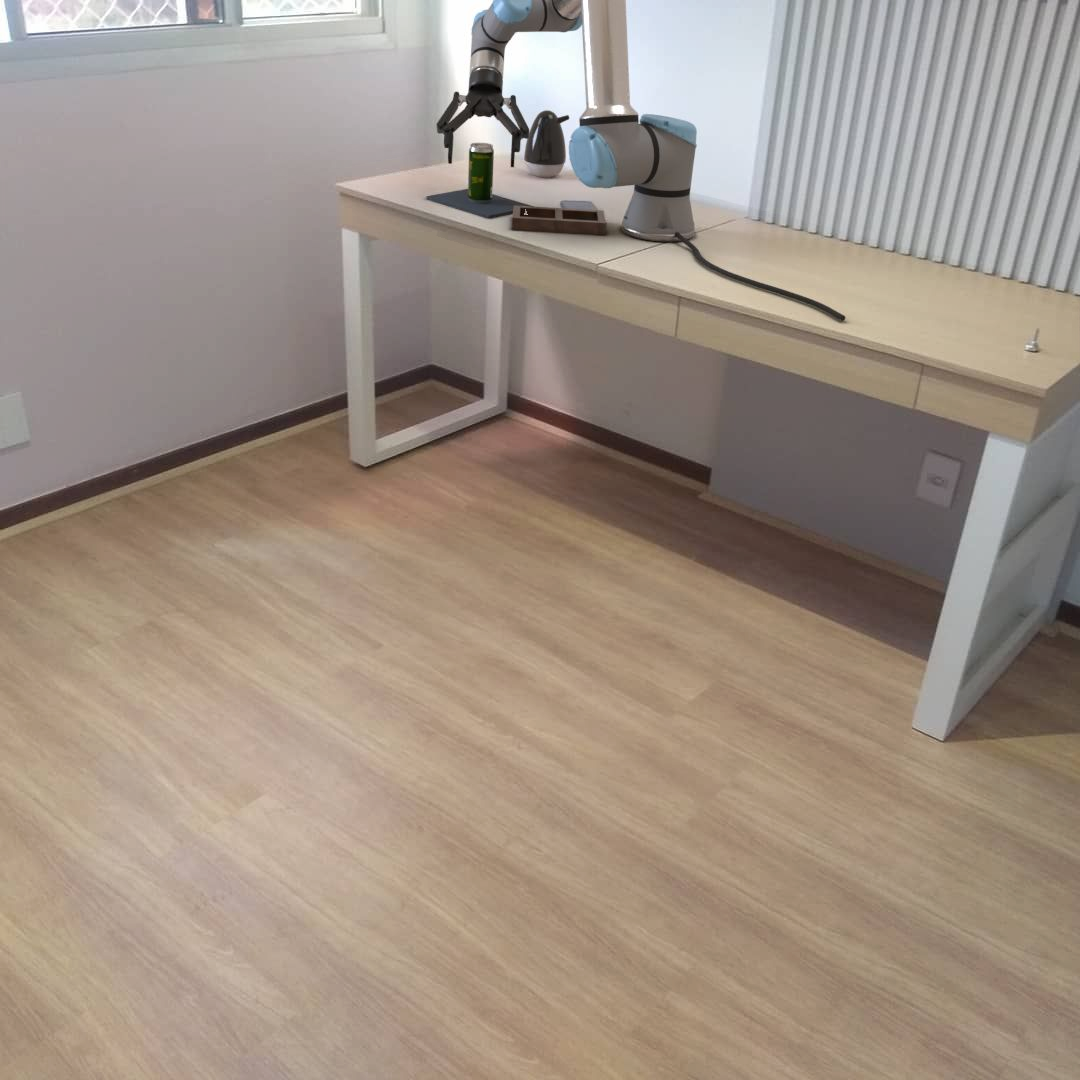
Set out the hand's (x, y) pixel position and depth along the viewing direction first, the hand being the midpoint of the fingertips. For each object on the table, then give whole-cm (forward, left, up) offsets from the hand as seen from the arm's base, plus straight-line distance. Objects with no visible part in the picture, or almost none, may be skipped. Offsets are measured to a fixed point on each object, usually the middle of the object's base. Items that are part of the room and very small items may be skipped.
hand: (481, 162), depth 252 cm
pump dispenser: (+12, -34, -9) cm, 37 cm away
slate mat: (+1, -1, -9) cm, 9 cm away
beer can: (+1, -1, -9) cm, 9 cm away
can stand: (-22, -2, -9) cm, 24 cm away
